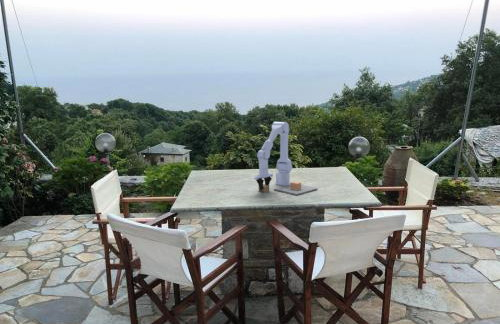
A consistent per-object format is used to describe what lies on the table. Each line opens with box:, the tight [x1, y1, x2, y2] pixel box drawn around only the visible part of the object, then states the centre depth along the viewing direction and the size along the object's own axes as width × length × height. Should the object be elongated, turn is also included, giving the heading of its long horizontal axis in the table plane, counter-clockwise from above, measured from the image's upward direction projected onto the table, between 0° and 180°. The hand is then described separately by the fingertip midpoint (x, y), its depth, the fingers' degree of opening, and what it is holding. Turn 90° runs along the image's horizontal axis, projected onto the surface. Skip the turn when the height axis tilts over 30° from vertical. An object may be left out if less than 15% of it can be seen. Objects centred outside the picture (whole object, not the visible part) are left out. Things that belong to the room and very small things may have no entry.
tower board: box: [273, 184, 318, 196], centre depth 257 cm, size 20×20×1 cm
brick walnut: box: [258, 183, 270, 193], centre depth 256 cm, size 6×4×4 cm, turn 41°
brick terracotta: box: [290, 180, 302, 190], centre depth 256 cm, size 6×4×4 cm, turn 41°
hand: (264, 188), depth 256 cm, fingers open, 4 cm apart
